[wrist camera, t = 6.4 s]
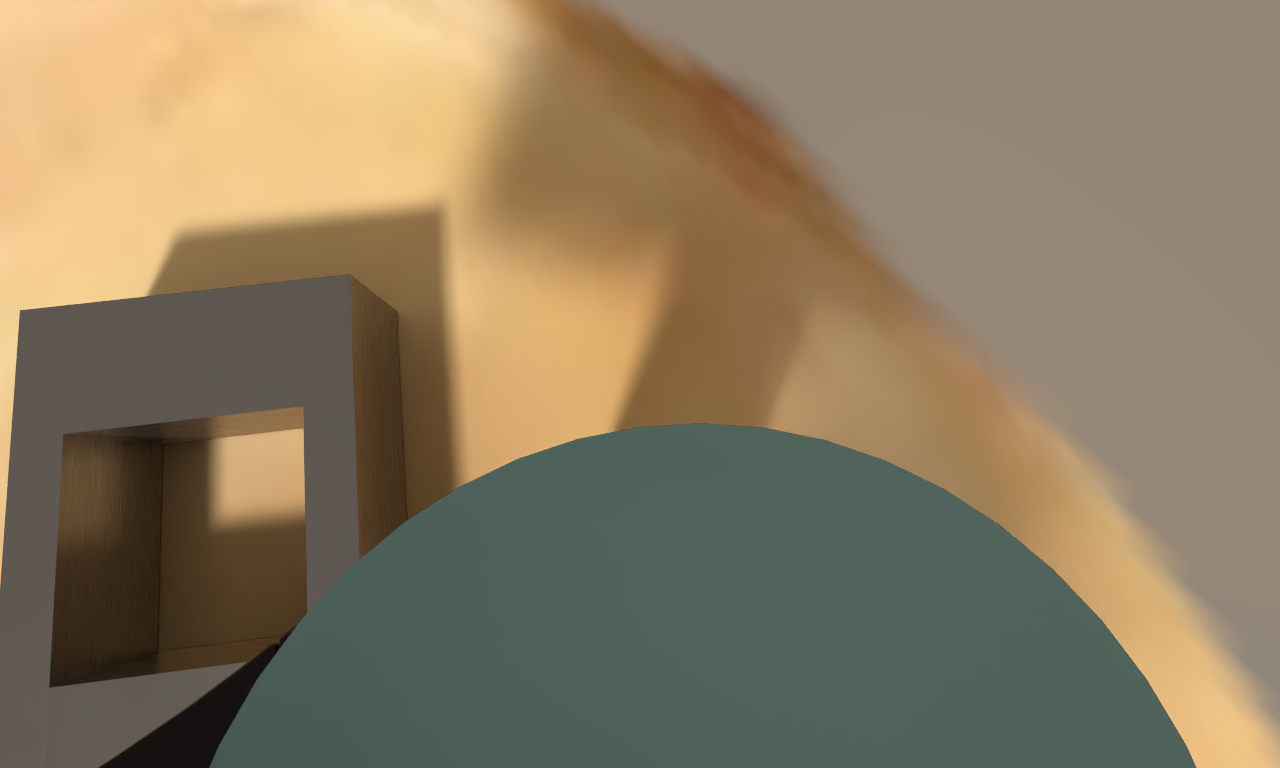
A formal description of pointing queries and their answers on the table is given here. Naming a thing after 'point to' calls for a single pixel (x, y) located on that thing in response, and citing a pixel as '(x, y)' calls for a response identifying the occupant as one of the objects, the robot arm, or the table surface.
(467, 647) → the dowel
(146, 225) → the table surface
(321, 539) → the grey slotted block
